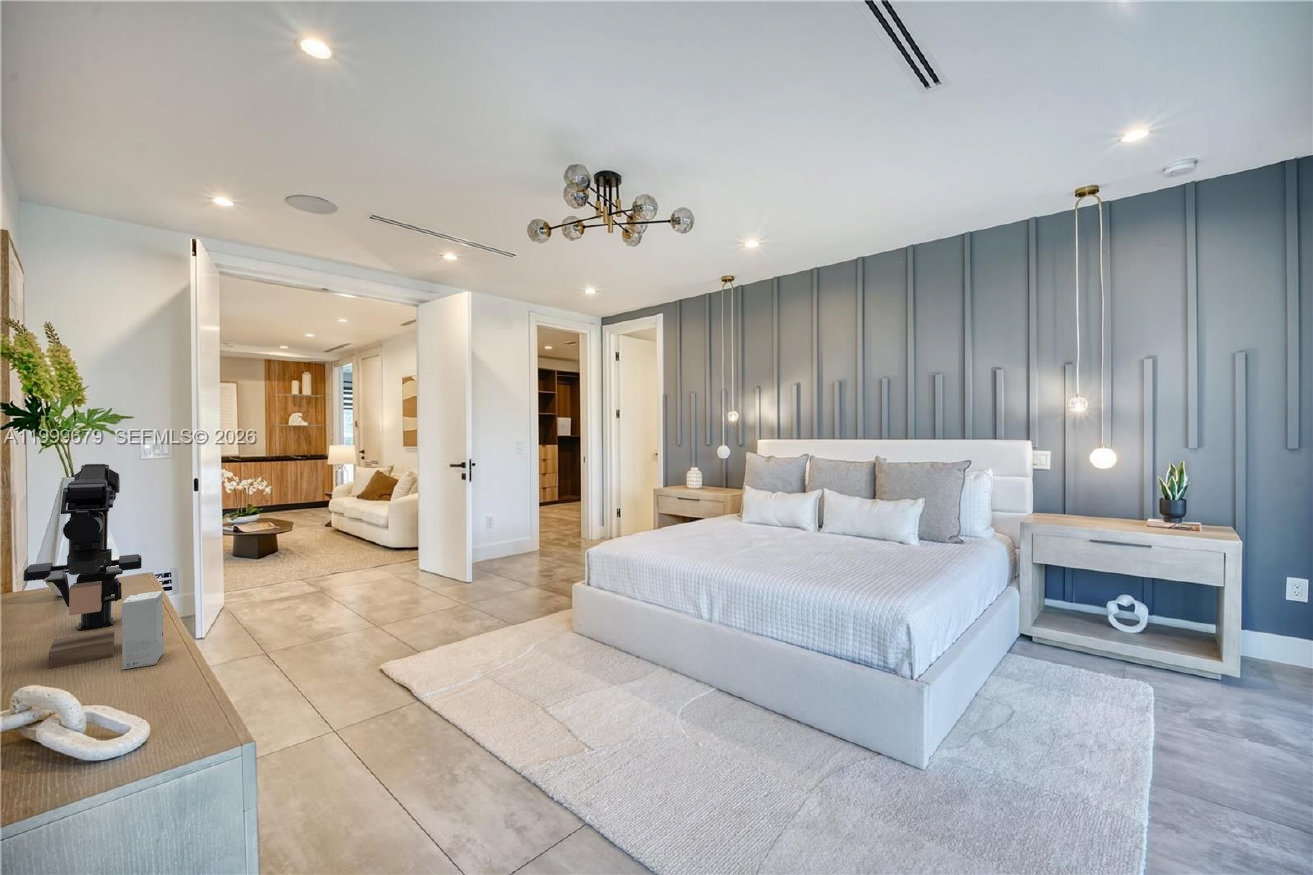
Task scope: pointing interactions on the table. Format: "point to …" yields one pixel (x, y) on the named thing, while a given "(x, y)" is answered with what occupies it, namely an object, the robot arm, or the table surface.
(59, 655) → the block
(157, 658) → the skincare box
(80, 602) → the terracotta block
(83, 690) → the table surface
